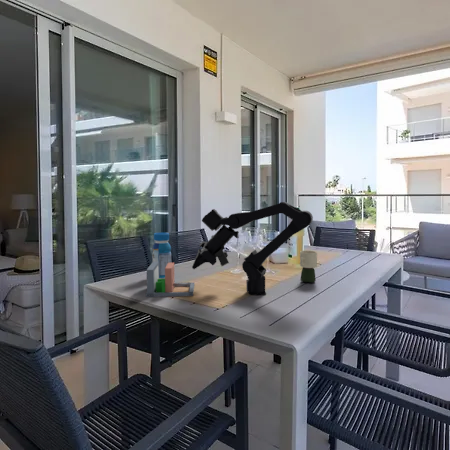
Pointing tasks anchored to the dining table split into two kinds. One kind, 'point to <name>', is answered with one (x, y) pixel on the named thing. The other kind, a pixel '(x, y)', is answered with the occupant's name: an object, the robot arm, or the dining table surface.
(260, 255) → the robot arm
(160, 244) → the beverage bottle
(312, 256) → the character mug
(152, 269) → the vise body
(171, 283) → the sliding jaw
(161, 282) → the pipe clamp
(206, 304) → the dining table surface
